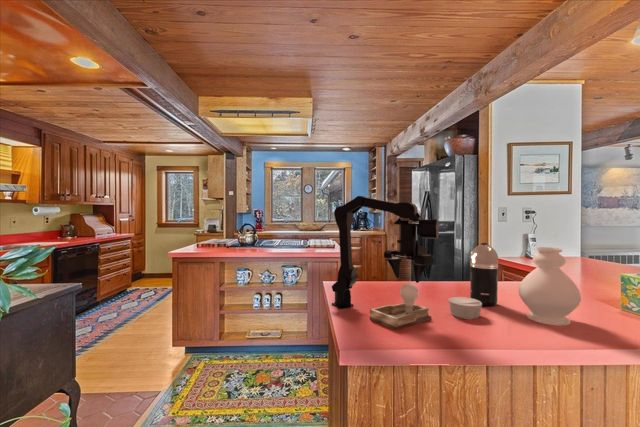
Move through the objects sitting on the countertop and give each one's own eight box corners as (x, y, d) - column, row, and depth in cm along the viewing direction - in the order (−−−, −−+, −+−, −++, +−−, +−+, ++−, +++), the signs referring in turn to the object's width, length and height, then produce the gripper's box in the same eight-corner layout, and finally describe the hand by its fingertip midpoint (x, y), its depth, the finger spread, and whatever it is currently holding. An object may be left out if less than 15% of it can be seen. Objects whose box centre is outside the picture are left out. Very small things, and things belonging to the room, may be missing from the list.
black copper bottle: (470, 305, 129) (471, 243, 129) (469, 298, 139) (469, 240, 138) (499, 308, 125) (500, 244, 125) (496, 301, 135) (496, 241, 134)
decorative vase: (566, 332, 101) (567, 253, 100) (508, 316, 116) (509, 247, 115) (589, 322, 110) (590, 249, 110) (532, 308, 125) (533, 244, 125)
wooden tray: (369, 319, 113) (369, 309, 113) (404, 310, 123) (404, 301, 123) (395, 329, 103) (395, 319, 103) (431, 319, 113) (431, 309, 113)
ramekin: (476, 323, 110) (476, 307, 109) (443, 315, 117) (443, 301, 117) (485, 315, 118) (486, 300, 118) (454, 308, 125) (454, 295, 125)
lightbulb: (419, 317, 112) (419, 285, 111) (400, 316, 113) (400, 285, 113) (417, 311, 118) (417, 281, 118) (399, 310, 119) (399, 281, 119)
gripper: (444, 238, 113) (443, 282, 113) (403, 234, 129) (402, 273, 129) (423, 240, 107) (422, 286, 107) (383, 235, 122) (382, 276, 123)
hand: (407, 280), depth 117 cm, fingers open, 9 cm apart
